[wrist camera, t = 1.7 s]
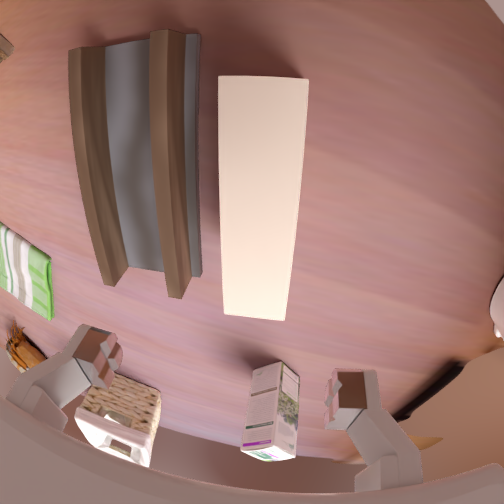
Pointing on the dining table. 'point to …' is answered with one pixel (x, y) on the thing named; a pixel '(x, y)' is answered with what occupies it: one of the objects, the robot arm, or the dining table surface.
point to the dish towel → (26, 272)
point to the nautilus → (22, 352)
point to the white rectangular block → (259, 189)
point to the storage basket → (121, 418)
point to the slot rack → (140, 154)
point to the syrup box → (272, 414)
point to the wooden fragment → (5, 49)
